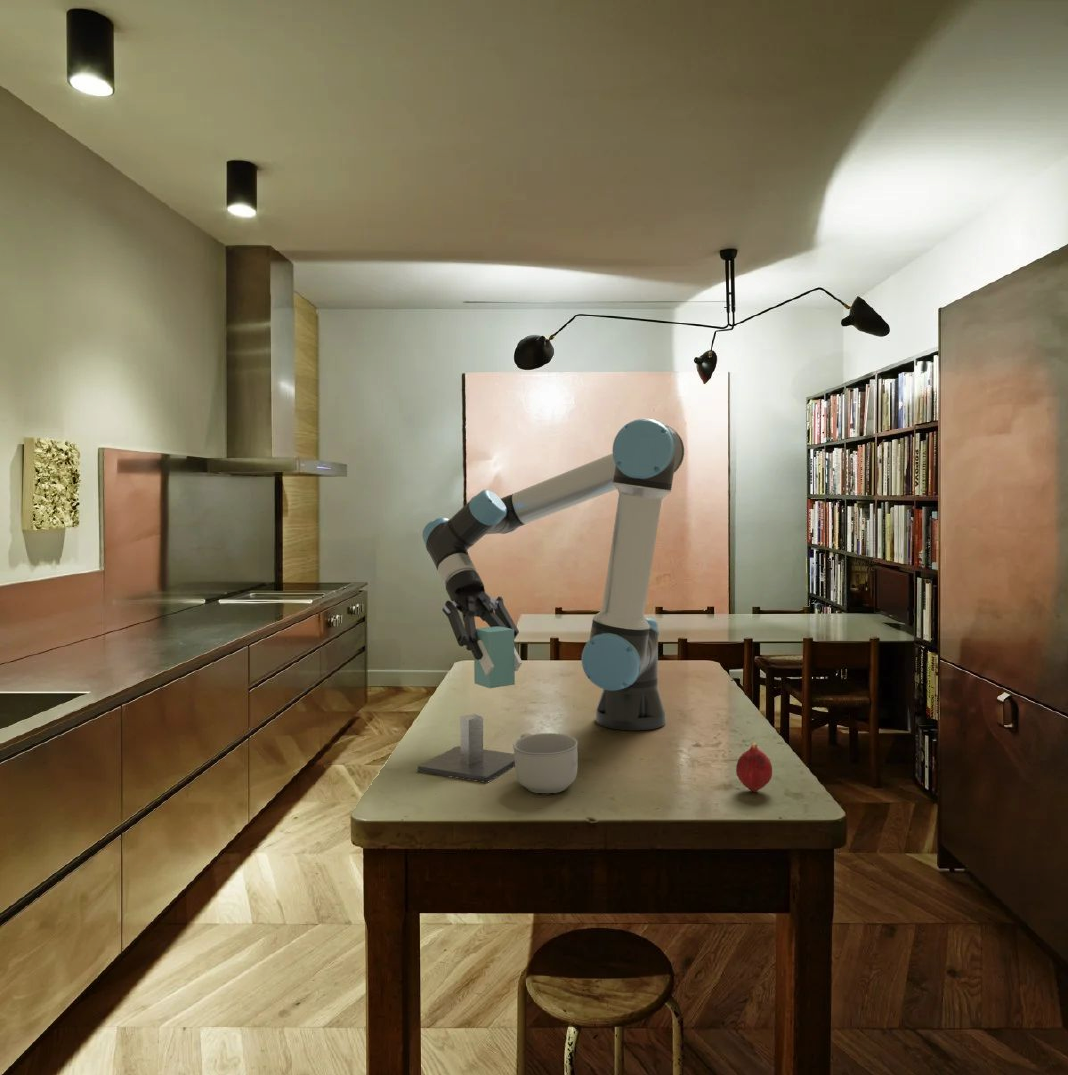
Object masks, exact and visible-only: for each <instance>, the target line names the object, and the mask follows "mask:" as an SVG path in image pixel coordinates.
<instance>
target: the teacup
mask: <svg viewBox="0 0 1068 1075" xmlns="http://www.w3.org/2000/svg"><path fill="white" fill-rule="evenodd" d="M578 745H579V741H578V739H576V738H575V737H573V736H571V735H567V734H562V733H554V732H553V733H551V732H550V733H549V732H547V733H545V732H544V733H535V734H531V733H529V732H525V733H522V734H521V735H520V738H518V739H517V740H515V741H514V742H513V744H512V747H513V754H514V759H515V766H514V770H515V771H514V772H515V775H516V779H517V781H518V782H519V783H520V784H521V786H523V787H524V788H526V790H528V791H529V792H531V791H532V792H531V793H533V792H534V794H537V793H554V794H558V793H562V792H563V791H566V789H568V787H569V786H570V785H572V783H574V782H575V780H576V777H577V774H578V761H579V760H578V757H579V756H578Z"/></svg>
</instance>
